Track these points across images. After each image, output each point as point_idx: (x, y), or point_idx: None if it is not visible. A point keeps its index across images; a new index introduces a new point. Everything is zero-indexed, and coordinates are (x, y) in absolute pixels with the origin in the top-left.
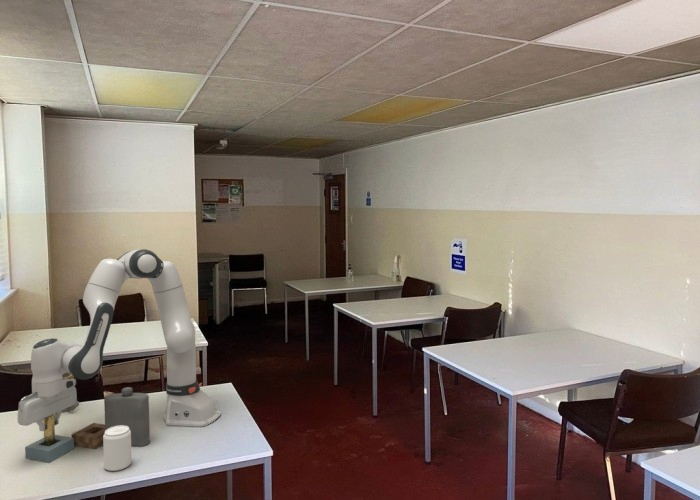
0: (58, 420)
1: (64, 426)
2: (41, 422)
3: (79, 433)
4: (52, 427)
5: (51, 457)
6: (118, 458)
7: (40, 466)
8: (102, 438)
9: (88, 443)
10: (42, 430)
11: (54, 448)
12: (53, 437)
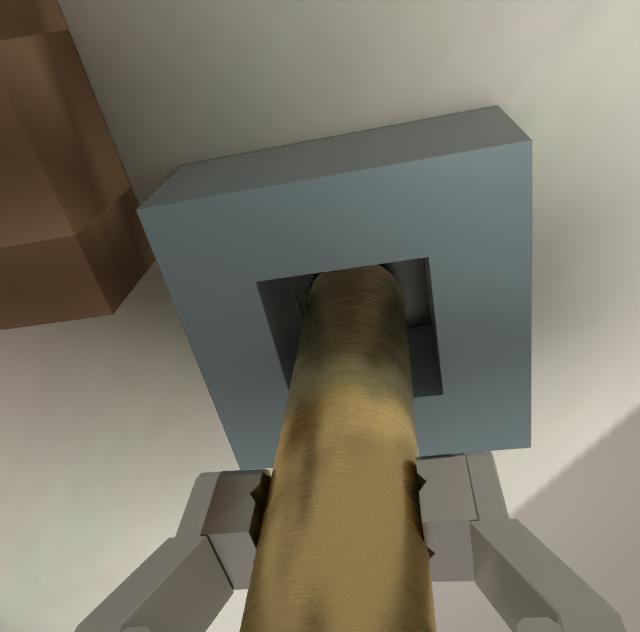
0: (186, 516)
1: (65, 537)
2: (587, 611)
3: (39, 256)
4: (337, 437)
5: (471, 121)
6: None
7: (586, 115)
8: None
9: (39, 40)
10: (495, 466)
11: (431, 156)
12: (336, 335)
